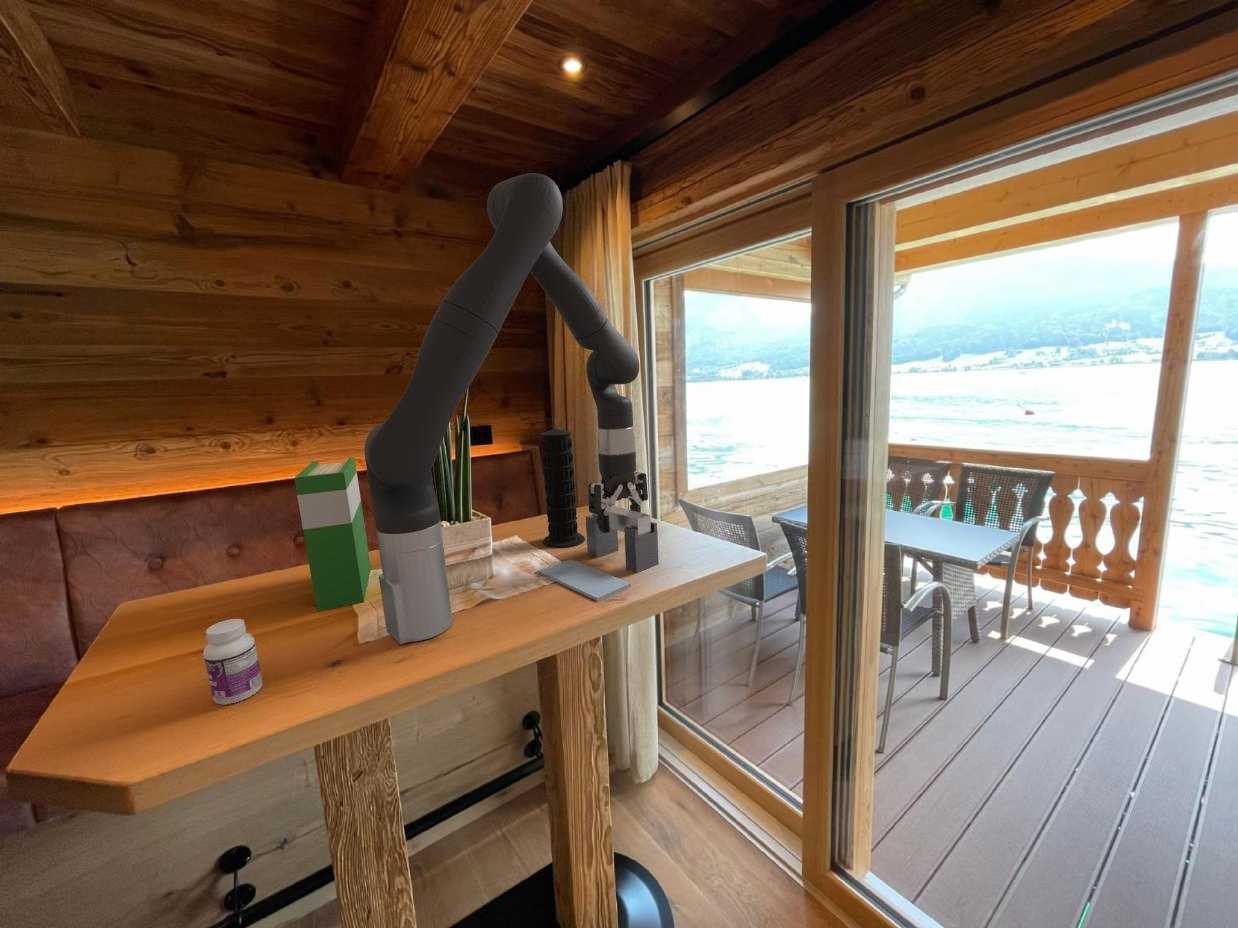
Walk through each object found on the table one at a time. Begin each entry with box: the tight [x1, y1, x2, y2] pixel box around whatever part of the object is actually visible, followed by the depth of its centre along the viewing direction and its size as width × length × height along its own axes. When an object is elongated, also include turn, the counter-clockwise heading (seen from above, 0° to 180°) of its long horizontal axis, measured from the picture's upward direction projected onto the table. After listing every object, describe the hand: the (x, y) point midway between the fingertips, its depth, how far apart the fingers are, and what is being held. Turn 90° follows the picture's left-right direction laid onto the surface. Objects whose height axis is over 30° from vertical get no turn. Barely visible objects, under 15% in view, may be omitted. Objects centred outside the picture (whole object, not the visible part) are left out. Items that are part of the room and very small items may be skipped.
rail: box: [591, 505, 652, 536], centre depth 106 cm, size 4×14×4 cm, turn 42°
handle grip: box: [540, 428, 586, 549], centre depth 118 cm, size 10×26×10 cm
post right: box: [623, 520, 659, 574], centre depth 102 cm, size 6×3×9 cm, turn 133°
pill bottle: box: [202, 618, 263, 706], centre depth 67 cm, size 5×5×10 cm
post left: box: [585, 515, 619, 559], centre depth 111 cm, size 6×3×9 cm, turn 132°
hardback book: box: [293, 456, 372, 612], centre depth 97 cm, size 18×7×24 cm, turn 22°
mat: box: [538, 559, 632, 602], centre depth 98 cm, size 8×18×1 cm, turn 43°
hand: (620, 527), depth 106 cm, fingers open, 8 cm apart
